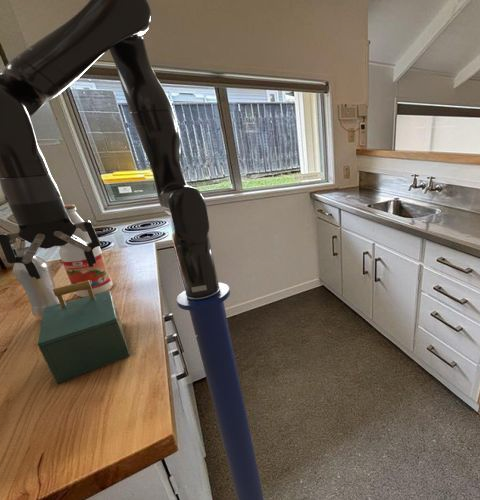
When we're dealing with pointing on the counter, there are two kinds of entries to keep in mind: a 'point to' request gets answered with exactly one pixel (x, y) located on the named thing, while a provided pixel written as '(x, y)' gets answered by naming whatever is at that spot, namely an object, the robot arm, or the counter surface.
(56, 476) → the counter surface
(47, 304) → the plastic bottle
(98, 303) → the bin lid
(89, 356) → the bin
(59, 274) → the counter surface
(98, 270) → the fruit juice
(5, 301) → the counter surface
